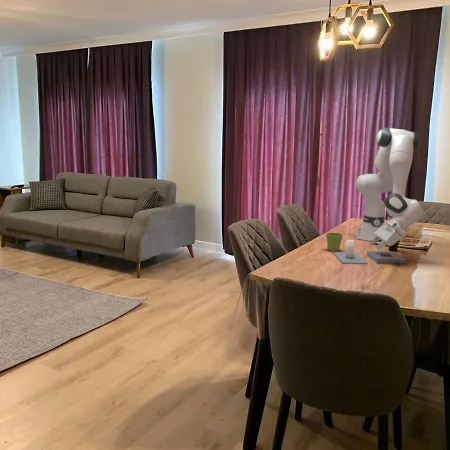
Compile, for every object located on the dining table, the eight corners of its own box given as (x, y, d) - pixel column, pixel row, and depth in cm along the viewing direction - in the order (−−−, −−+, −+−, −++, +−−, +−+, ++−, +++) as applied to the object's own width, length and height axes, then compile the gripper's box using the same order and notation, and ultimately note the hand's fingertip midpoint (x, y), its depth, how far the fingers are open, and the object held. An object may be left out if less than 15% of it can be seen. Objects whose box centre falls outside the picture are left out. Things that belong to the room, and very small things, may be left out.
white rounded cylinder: (343, 256, 239) (345, 239, 237) (353, 256, 239) (354, 239, 237) (346, 258, 234) (347, 241, 233) (355, 258, 234) (356, 241, 233)
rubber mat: (333, 253, 246) (333, 252, 246) (356, 253, 246) (356, 252, 246) (342, 263, 227) (342, 262, 226) (367, 264, 227) (367, 262, 226)
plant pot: (343, 248, 257) (344, 233, 255) (341, 252, 248) (342, 236, 247) (325, 247, 260) (326, 231, 258) (323, 251, 251) (324, 235, 250)
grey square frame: (366, 255, 244) (367, 250, 244) (394, 255, 244) (394, 251, 244) (379, 265, 224) (380, 261, 223) (409, 266, 224) (409, 261, 223)
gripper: (384, 219, 243) (364, 237, 245) (398, 226, 223) (376, 246, 225) (392, 227, 244) (371, 245, 246) (407, 235, 224) (384, 255, 226)
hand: (374, 246), depth 235 cm, fingers open, 8 cm apart
